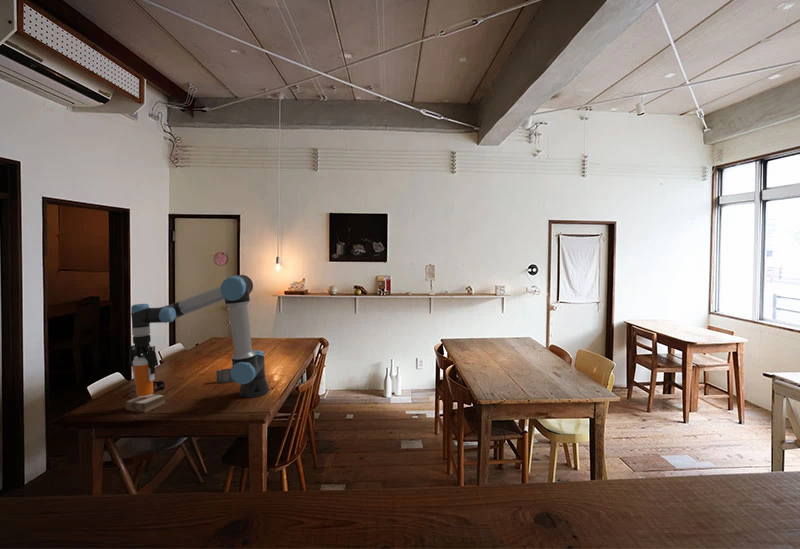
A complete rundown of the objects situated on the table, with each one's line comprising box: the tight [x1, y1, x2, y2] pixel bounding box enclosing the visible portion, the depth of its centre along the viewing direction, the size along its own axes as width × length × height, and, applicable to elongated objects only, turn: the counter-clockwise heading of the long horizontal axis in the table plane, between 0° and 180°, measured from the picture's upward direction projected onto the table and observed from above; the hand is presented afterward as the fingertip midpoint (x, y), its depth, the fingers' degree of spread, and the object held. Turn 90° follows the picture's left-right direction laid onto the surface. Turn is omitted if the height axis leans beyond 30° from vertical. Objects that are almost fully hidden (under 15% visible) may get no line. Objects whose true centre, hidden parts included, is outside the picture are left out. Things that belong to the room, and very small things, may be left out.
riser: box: [124, 393, 166, 413], centre depth 209 cm, size 12×12×4 cm
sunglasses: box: [129, 380, 165, 399], centre depth 230 cm, size 14×16×5 cm
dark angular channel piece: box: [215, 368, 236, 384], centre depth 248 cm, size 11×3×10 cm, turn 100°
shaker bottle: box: [133, 354, 154, 397], centre depth 208 cm, size 9×9×20 cm
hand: (144, 379), depth 209 cm, fingers closed on shaker bottle, 9 cm apart
